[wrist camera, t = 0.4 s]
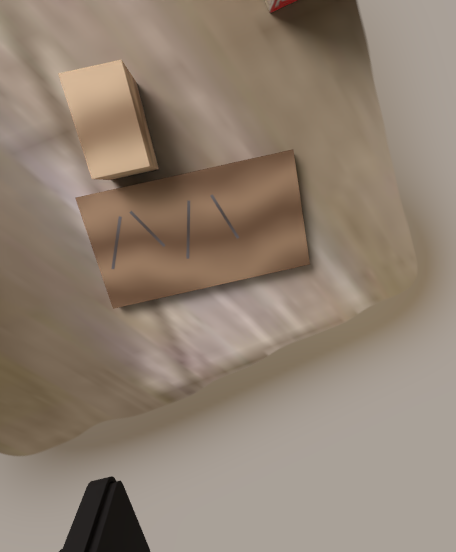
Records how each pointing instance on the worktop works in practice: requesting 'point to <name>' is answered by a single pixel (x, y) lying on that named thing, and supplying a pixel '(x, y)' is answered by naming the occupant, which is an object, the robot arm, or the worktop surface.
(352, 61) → the worktop surface
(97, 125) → the block
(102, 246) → the board
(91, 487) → the robot arm
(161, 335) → the worktop surface
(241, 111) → the worktop surface
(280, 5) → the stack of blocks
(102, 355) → the worktop surface
